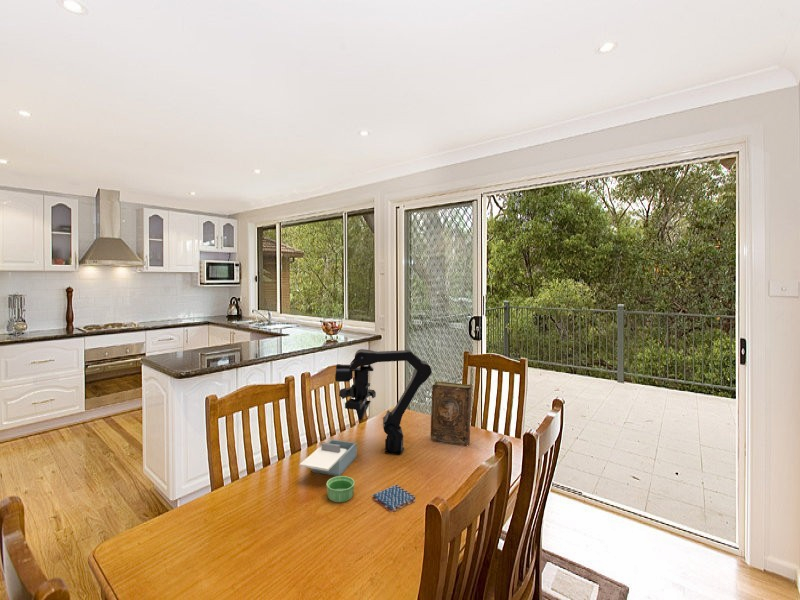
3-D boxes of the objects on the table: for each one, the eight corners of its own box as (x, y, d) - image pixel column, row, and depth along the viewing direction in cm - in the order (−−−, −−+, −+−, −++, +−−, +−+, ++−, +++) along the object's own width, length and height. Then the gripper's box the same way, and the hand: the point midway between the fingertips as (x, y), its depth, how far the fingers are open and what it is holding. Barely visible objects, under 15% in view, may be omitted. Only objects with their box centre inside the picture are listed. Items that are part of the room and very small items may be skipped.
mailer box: (330, 452, 160) (331, 439, 159) (356, 456, 157) (356, 443, 156) (311, 471, 144) (311, 456, 144) (339, 476, 141) (339, 461, 141)
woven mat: (370, 500, 128) (370, 494, 128) (395, 489, 135) (395, 483, 135) (391, 515, 120) (391, 508, 120) (417, 502, 127) (417, 496, 127)
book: (470, 441, 174) (472, 384, 172) (468, 446, 168) (470, 388, 167) (433, 436, 178) (434, 381, 177) (430, 441, 173) (432, 384, 172)
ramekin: (320, 498, 127) (320, 485, 127) (337, 485, 135) (337, 473, 135) (343, 507, 123) (343, 493, 123) (359, 493, 131) (360, 480, 131)
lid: (321, 447, 151) (321, 439, 151) (347, 451, 148) (347, 443, 148) (299, 466, 136) (299, 457, 136) (328, 471, 133) (328, 462, 133)
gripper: (351, 374, 171) (351, 410, 172) (332, 385, 153) (332, 425, 154) (376, 376, 168) (375, 413, 169) (359, 388, 150) (359, 429, 151)
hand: (360, 419), depth 161 cm, fingers closed
